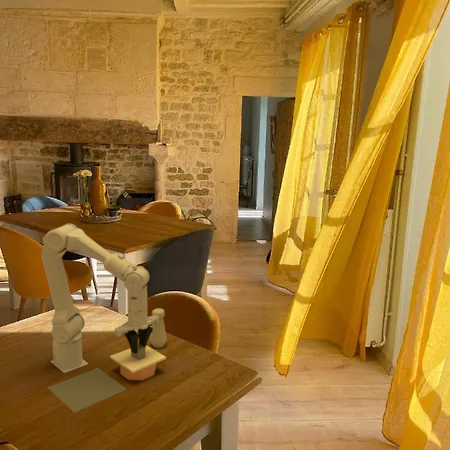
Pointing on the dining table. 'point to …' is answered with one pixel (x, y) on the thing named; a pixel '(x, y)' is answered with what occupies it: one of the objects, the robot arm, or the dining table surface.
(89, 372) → the mat
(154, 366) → the bowl
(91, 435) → the dining table surface
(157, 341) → the salt shaker
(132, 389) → the dining table surface
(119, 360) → the lid
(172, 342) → the dining table surface
